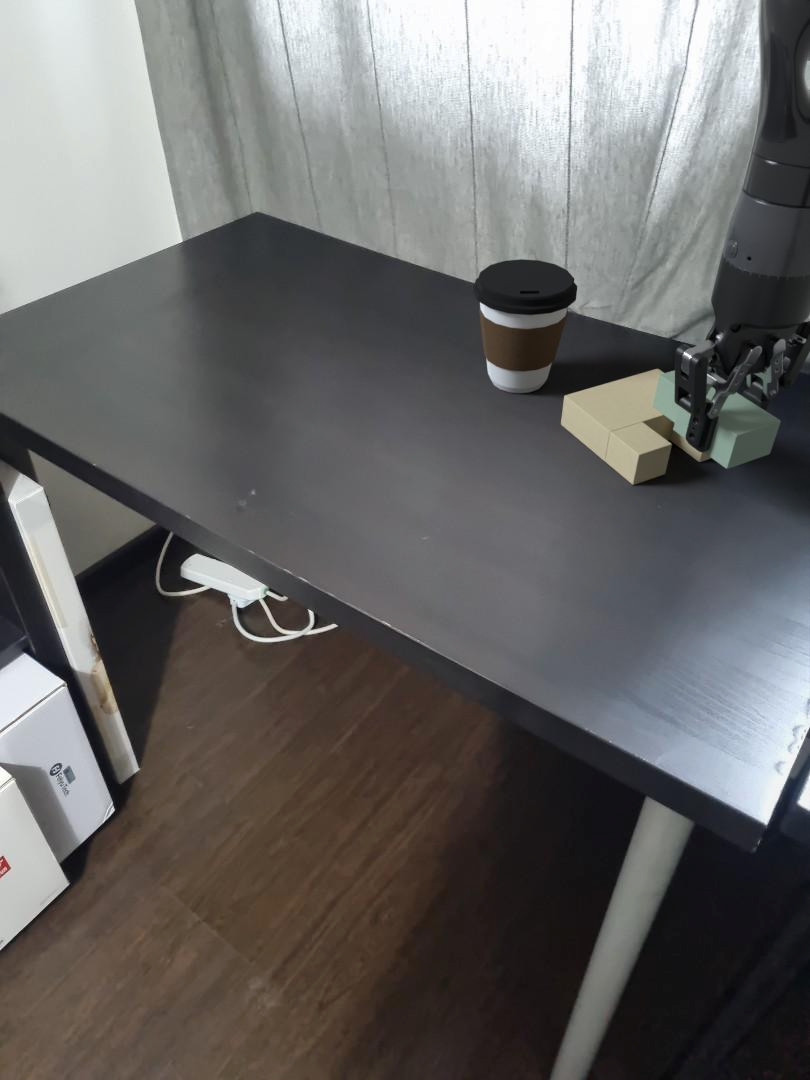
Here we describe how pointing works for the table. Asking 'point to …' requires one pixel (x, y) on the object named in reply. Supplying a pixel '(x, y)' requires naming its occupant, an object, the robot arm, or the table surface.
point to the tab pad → (724, 425)
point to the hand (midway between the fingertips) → (722, 438)
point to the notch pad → (625, 426)
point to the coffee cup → (522, 320)
